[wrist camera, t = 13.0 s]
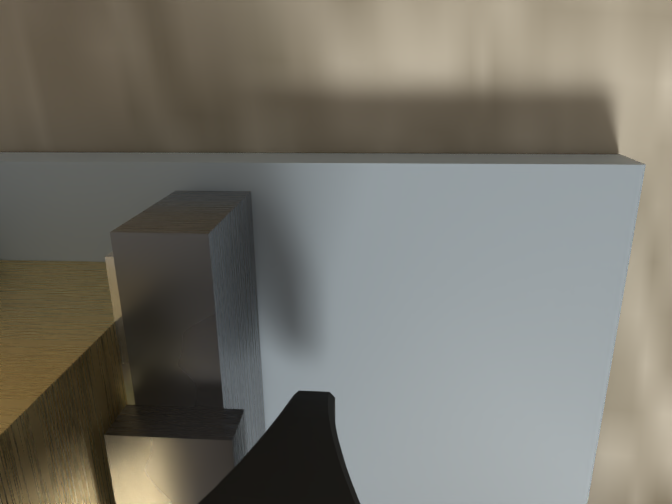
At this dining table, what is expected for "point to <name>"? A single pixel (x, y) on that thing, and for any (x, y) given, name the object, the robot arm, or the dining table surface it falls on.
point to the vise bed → (399, 297)
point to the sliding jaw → (185, 346)
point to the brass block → (57, 382)
